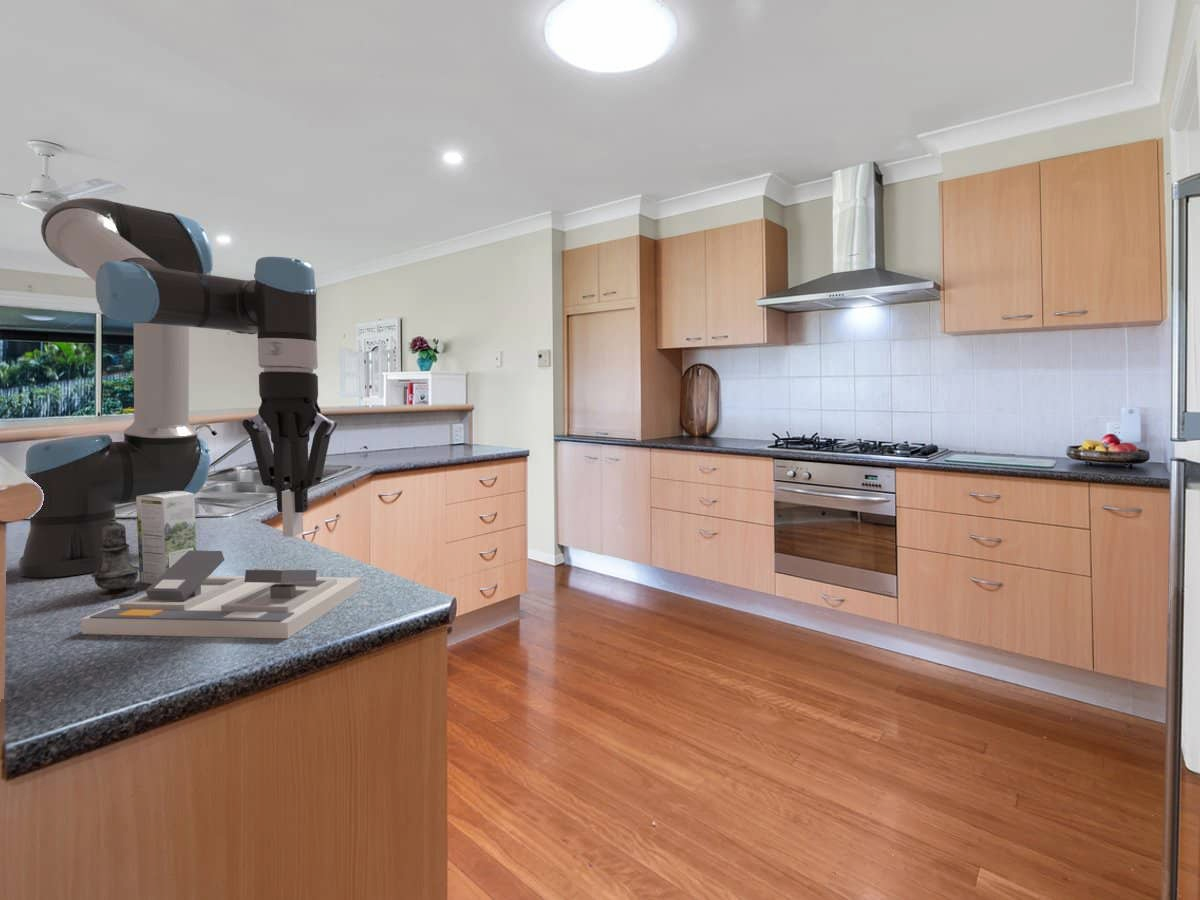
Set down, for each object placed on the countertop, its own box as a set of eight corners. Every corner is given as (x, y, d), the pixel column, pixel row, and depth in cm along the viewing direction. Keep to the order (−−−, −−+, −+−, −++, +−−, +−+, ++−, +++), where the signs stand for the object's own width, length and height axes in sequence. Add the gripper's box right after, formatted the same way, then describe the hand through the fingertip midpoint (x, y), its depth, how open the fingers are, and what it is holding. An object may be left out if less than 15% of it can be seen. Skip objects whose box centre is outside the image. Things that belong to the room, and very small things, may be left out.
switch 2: (282, 580, 91) (284, 568, 91) (315, 581, 91) (316, 569, 91) (244, 582, 82) (245, 569, 82) (280, 582, 82) (282, 569, 82)
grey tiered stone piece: (114, 601, 91) (109, 521, 90) (82, 599, 93) (77, 519, 92) (151, 589, 97) (146, 514, 96) (120, 587, 98) (115, 513, 97)
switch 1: (192, 559, 92) (188, 549, 91) (224, 559, 92) (221, 550, 91) (149, 599, 84) (145, 589, 83) (184, 600, 84) (180, 590, 83)
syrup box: (171, 574, 106) (167, 490, 105) (199, 576, 105) (194, 491, 104) (139, 583, 101) (134, 495, 100) (167, 586, 99) (162, 496, 98)
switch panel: (195, 587, 98) (194, 565, 98) (360, 590, 96) (360, 567, 96) (82, 633, 78) (80, 606, 78) (288, 638, 76) (286, 610, 76)
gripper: (227, 369, 85) (233, 539, 87) (319, 370, 84) (323, 541, 86) (260, 371, 92) (265, 527, 94) (345, 372, 91) (349, 530, 93)
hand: (293, 534), depth 90 cm, fingers closed
